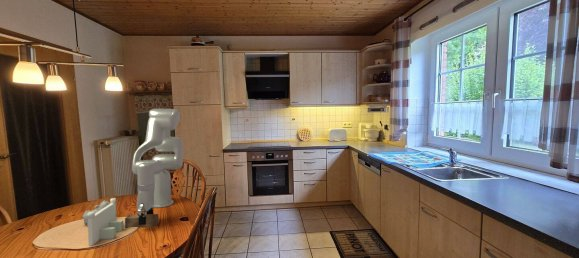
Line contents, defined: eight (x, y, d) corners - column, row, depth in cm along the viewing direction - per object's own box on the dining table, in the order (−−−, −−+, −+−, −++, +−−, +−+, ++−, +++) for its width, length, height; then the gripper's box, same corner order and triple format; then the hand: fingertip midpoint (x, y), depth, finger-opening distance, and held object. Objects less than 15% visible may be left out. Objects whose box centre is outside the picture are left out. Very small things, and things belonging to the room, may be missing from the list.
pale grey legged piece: (112, 225, 127) (111, 198, 126) (128, 224, 128) (127, 197, 128) (87, 246, 107) (86, 213, 106) (106, 244, 108) (105, 213, 108)
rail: (125, 228, 124) (124, 218, 124) (128, 224, 128) (128, 215, 128) (155, 226, 127) (155, 216, 126) (158, 223, 131) (158, 213, 130)
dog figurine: (114, 219, 134) (114, 199, 134) (85, 228, 124) (85, 206, 123) (110, 217, 137) (110, 197, 137) (81, 225, 126) (80, 204, 126)
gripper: (144, 183, 134) (145, 214, 135) (130, 192, 117) (130, 228, 118) (159, 182, 136) (160, 214, 136) (147, 191, 119) (147, 227, 119)
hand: (146, 220), depth 127 cm, fingers open, 9 cm apart
